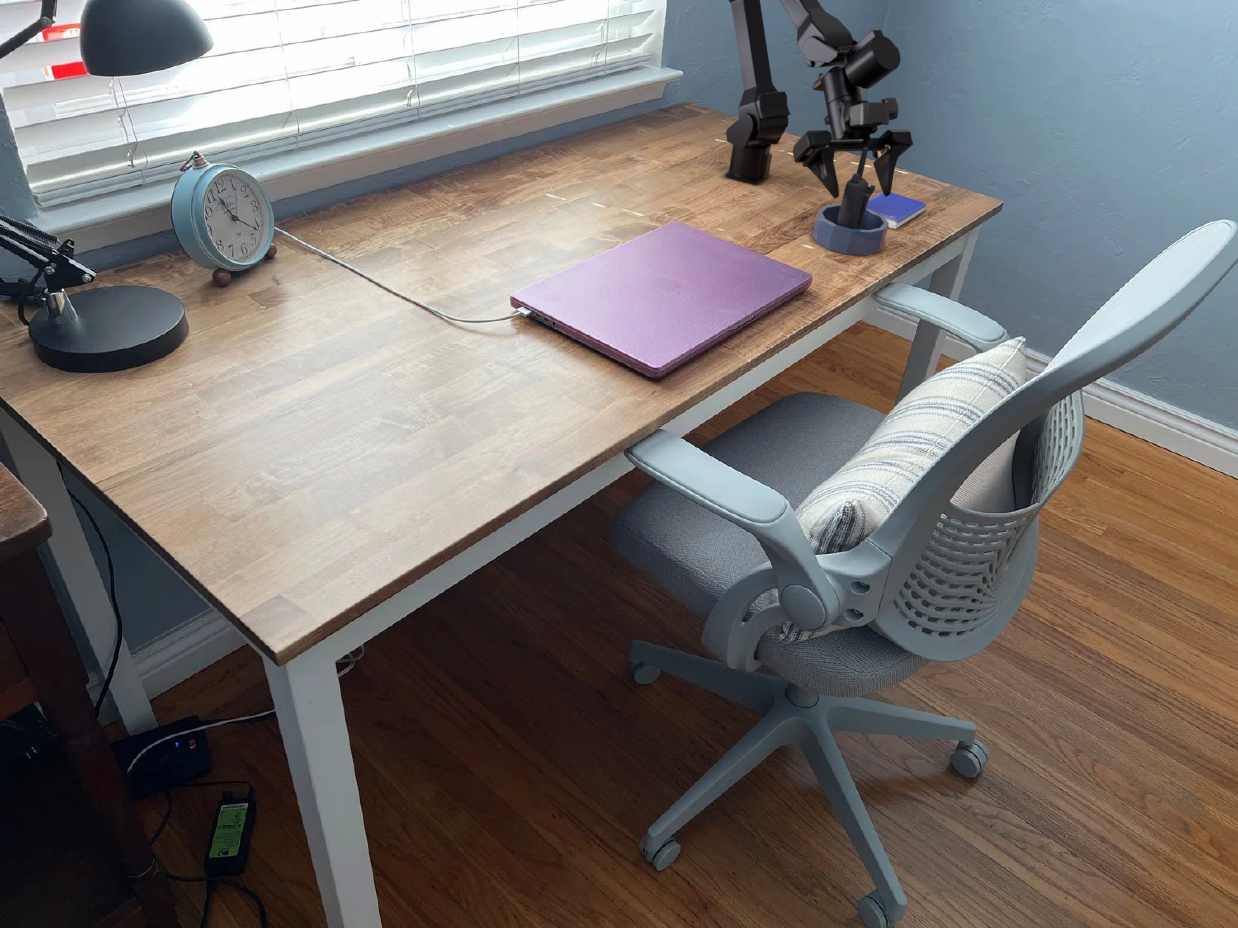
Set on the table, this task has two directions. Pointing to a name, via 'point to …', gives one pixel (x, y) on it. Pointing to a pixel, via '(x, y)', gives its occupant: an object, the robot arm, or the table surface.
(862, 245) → the blue faceted hollow ring
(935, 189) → the table surface
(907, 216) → the blue book
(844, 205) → the two-way radio
